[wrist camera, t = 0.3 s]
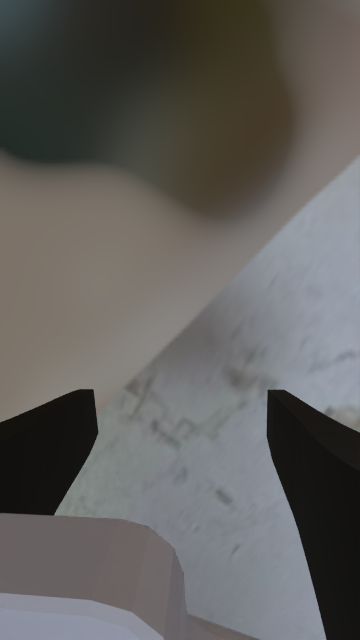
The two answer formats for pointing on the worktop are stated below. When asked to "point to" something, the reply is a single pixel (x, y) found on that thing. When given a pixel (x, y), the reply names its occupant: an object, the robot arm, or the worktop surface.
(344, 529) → the robot arm
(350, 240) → the worktop surface
